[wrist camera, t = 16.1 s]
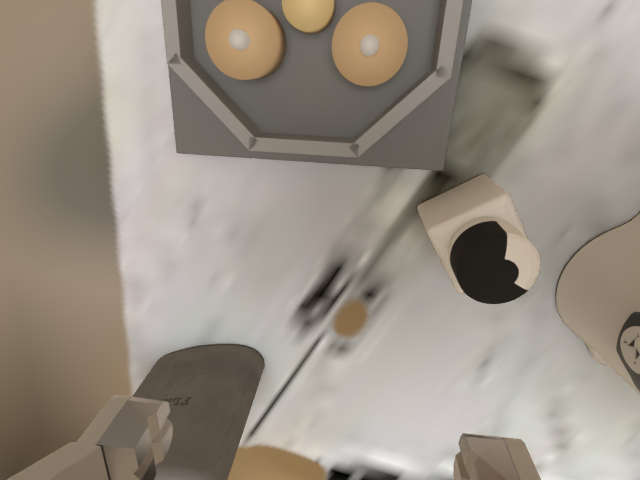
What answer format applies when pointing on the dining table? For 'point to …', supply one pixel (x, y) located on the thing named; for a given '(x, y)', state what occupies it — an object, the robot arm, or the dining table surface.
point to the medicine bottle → (481, 241)
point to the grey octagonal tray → (316, 78)
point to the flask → (204, 407)
